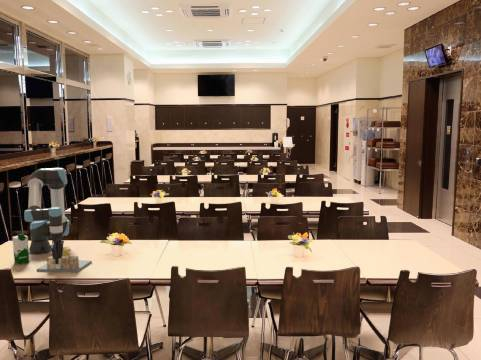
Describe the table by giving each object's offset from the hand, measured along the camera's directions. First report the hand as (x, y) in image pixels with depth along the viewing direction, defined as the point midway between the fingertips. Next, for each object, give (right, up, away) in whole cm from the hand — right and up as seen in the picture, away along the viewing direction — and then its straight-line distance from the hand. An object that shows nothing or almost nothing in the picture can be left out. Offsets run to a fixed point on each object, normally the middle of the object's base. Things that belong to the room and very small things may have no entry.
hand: (58, 268), depth 287 cm
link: (+1, -1, +5) cm, 5 cm away
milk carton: (-34, 0, +22) cm, 41 cm away
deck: (0, -1, +12) cm, 12 cm away
